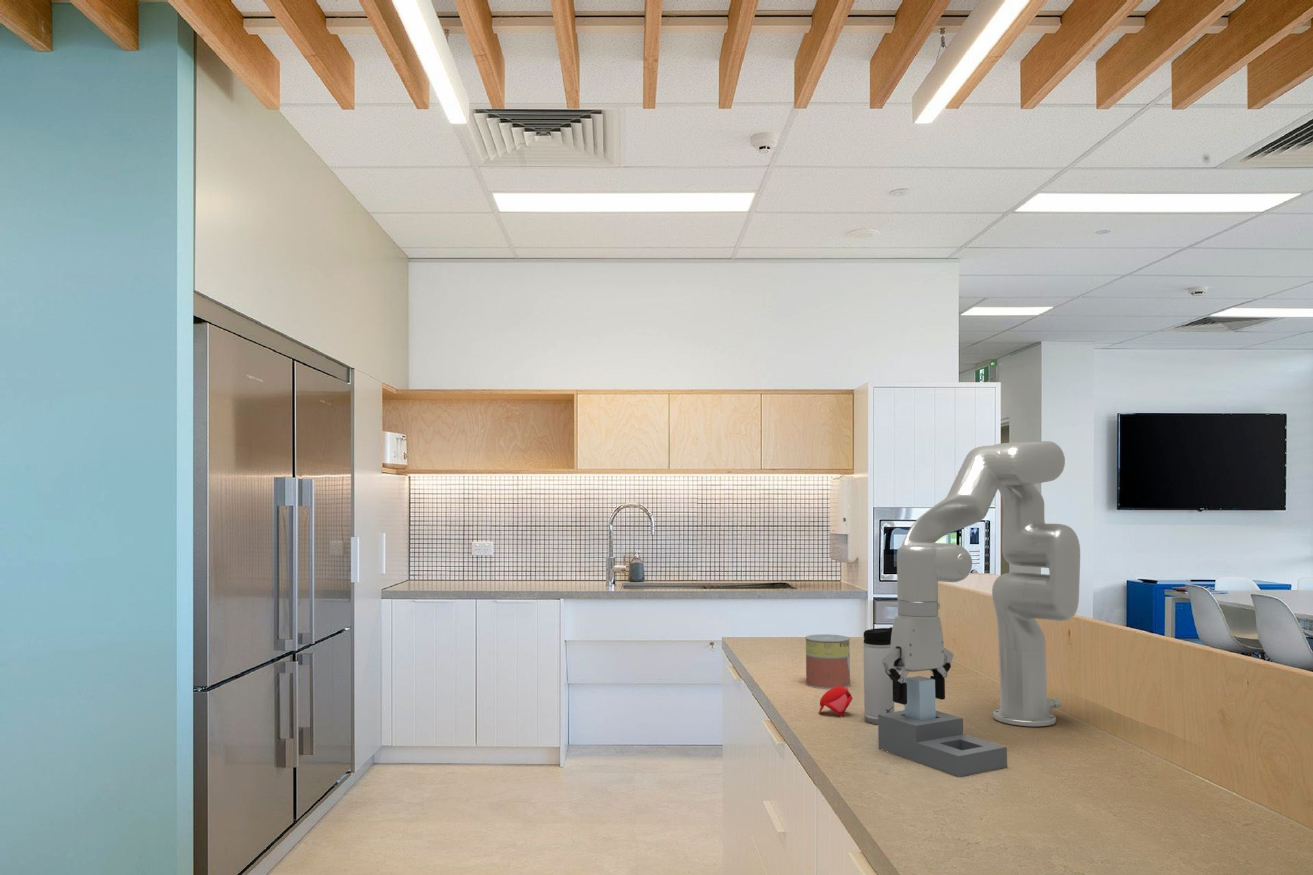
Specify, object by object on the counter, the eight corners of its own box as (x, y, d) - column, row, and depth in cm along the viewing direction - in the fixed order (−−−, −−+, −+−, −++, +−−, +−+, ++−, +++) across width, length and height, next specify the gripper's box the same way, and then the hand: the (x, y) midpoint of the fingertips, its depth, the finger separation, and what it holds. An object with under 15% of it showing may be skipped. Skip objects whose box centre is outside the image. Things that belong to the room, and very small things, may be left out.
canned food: (854, 689, 227) (853, 641, 228) (809, 689, 227) (809, 641, 228) (845, 680, 238) (845, 634, 239) (802, 680, 238) (802, 634, 239)
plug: (918, 727, 175) (917, 675, 176) (936, 733, 171) (934, 679, 171) (902, 730, 173) (901, 677, 174) (920, 735, 169) (919, 681, 170)
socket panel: (924, 740, 179) (924, 707, 179) (1007, 766, 161) (1006, 729, 161) (878, 748, 173) (878, 714, 173) (958, 776, 155) (957, 738, 156)
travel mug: (897, 725, 190) (895, 629, 192) (865, 724, 192) (863, 629, 193) (895, 718, 196) (893, 625, 198) (864, 717, 198) (862, 625, 199)
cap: (854, 696, 204) (831, 681, 206) (857, 692, 199) (833, 677, 200) (836, 726, 202) (813, 711, 204) (838, 724, 196) (815, 707, 198)
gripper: (936, 605, 181) (937, 692, 179) (869, 609, 172) (870, 701, 171) (965, 609, 174) (966, 700, 173) (897, 614, 166) (898, 709, 164)
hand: (919, 700), depth 172 cm, fingers open, 9 cm apart
